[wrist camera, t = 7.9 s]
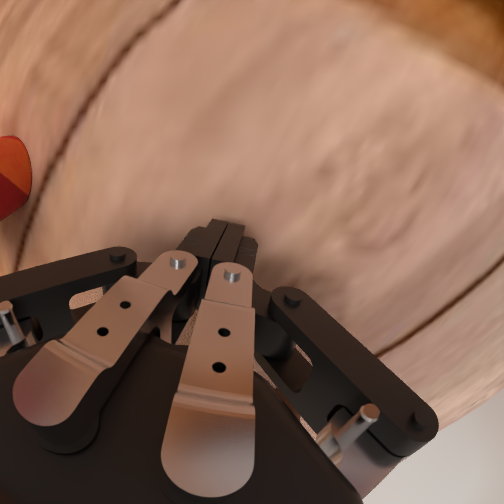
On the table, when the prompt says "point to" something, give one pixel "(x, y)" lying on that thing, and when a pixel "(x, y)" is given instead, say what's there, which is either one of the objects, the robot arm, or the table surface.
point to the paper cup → (13, 175)
